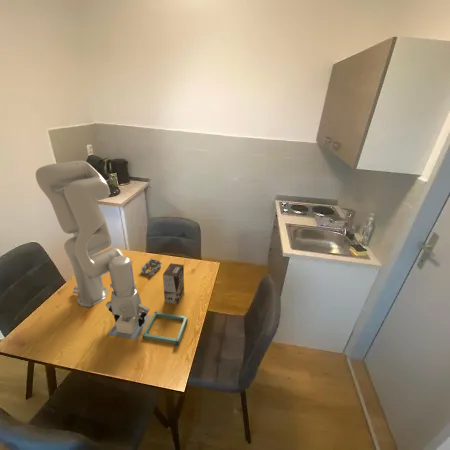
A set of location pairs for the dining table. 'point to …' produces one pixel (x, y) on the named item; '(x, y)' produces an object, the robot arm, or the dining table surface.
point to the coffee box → (173, 283)
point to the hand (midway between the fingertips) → (130, 322)
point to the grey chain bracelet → (153, 266)
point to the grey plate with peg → (135, 333)
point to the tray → (162, 338)
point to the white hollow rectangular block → (127, 324)
